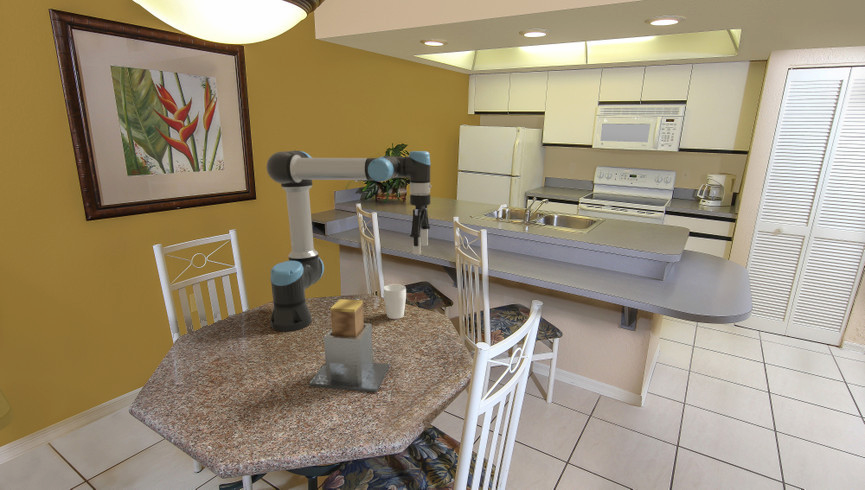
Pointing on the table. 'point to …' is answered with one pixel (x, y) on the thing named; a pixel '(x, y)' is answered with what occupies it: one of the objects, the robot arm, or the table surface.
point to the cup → (395, 300)
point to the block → (347, 318)
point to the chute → (350, 363)
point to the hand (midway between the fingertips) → (420, 249)
